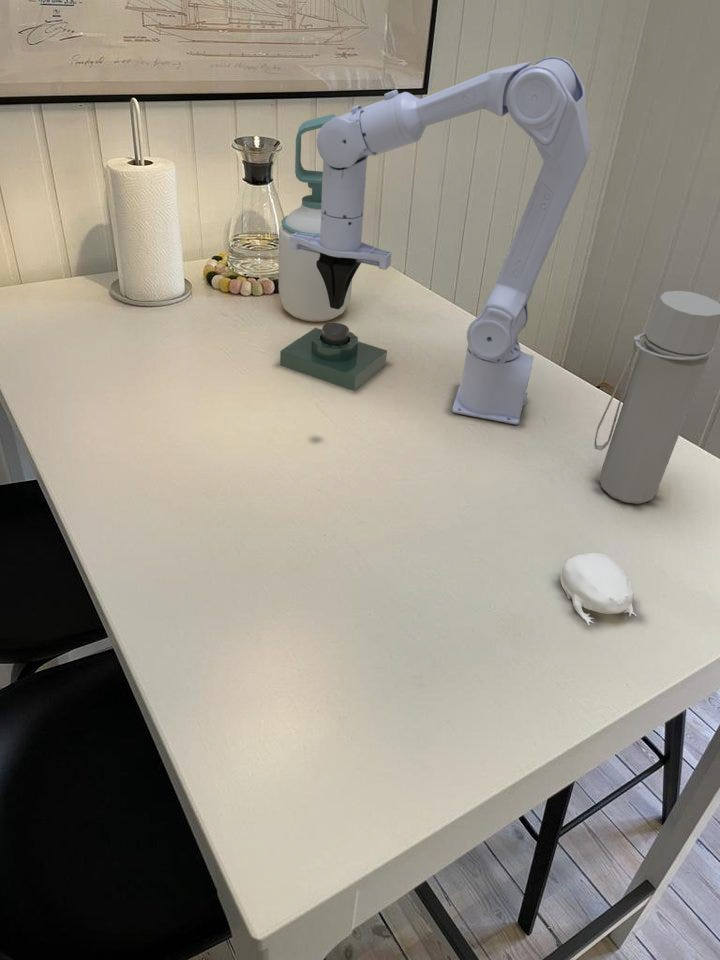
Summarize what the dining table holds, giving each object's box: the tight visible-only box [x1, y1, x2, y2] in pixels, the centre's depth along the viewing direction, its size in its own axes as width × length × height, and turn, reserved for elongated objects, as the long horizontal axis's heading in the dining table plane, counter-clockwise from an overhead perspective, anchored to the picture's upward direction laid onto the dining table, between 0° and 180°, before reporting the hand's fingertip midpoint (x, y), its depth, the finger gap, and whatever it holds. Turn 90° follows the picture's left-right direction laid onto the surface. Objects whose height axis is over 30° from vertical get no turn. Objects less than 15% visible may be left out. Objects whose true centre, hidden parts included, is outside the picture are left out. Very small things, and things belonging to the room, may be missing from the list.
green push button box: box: [279, 327, 388, 392], centre depth 114 cm, size 13×10×4 cm
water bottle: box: [593, 290, 720, 505], centre depth 88 cm, size 9×8×25 cm
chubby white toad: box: [559, 552, 637, 626], centre depth 78 cm, size 8×7×4 cm
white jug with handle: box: [278, 113, 353, 323], centre depth 121 cm, size 12×12×31 cm
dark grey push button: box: [321, 322, 350, 346], centre depth 112 cm, size 4×4×2 cm
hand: (336, 306), depth 110 cm, fingers closed
